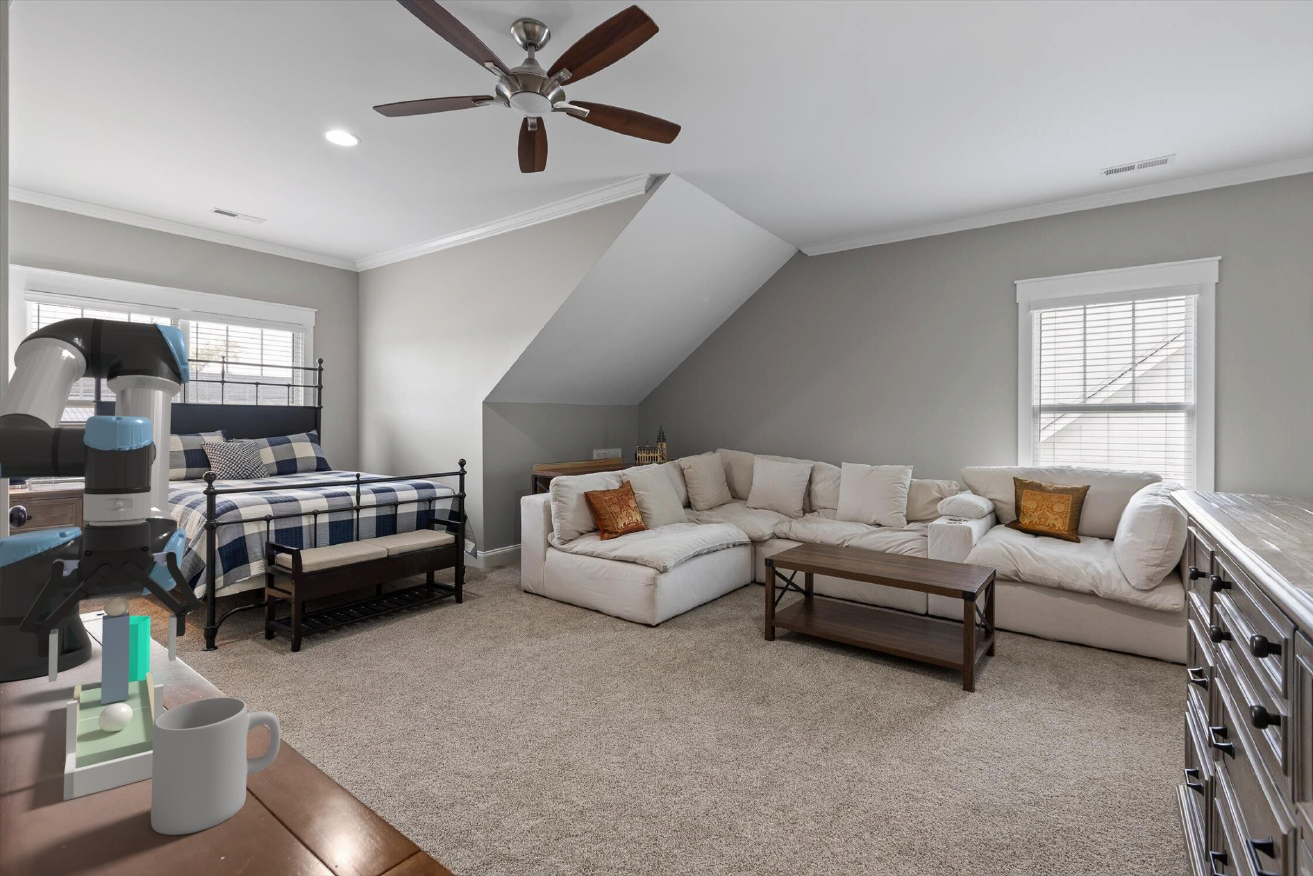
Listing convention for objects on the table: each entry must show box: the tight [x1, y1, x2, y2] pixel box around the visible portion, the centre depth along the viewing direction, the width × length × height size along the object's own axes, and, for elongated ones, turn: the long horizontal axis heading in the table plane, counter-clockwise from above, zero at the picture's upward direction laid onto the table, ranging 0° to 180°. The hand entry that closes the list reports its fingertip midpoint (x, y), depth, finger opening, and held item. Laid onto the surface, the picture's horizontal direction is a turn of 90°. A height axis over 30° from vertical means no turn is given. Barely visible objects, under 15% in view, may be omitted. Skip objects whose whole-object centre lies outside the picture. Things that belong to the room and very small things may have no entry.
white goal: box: [63, 683, 164, 802], centre depth 77 cm, size 6×9×9 cm
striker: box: [100, 596, 131, 704], centre depth 93 cm, size 3×3×15 cm
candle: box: [126, 610, 151, 682], centre depth 104 cm, size 6×6×12 cm
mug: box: [150, 697, 281, 836], centre depth 72 cm, size 12×8×11 cm
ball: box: [98, 703, 133, 732], centre depth 84 cm, size 4×4×4 cm
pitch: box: [72, 671, 155, 769], centre depth 89 cm, size 25×9×3 cm, turn 41°
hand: (115, 668), depth 93 cm, fingers open, 12 cm apart
